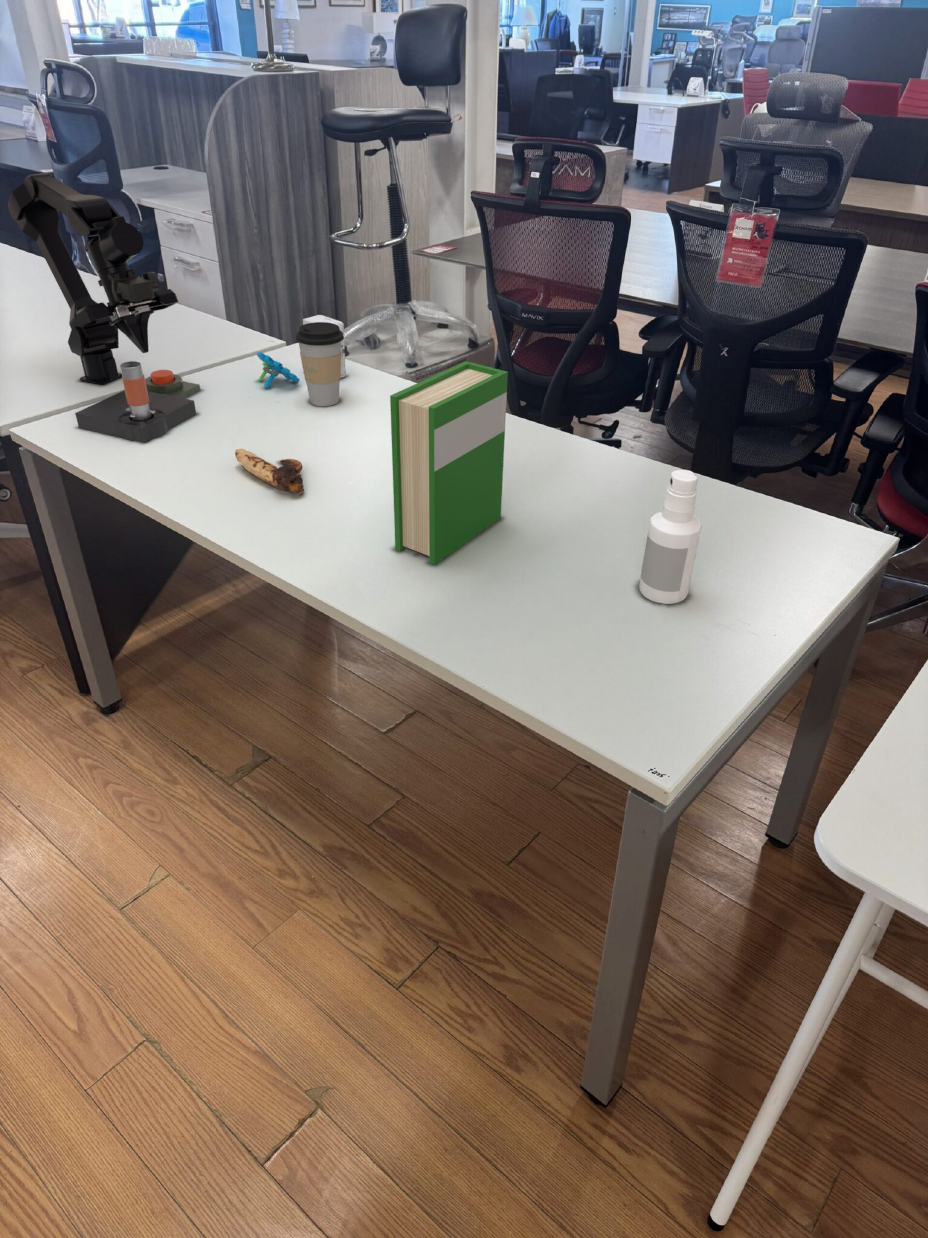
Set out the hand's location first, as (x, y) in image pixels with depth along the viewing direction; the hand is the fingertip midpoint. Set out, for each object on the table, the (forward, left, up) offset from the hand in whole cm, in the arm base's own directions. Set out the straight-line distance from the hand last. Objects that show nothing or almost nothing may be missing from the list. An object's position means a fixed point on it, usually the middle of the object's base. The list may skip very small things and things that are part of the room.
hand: (145, 352), depth 165 cm
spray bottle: (+109, -24, -11) cm, 112 cm away
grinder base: (+2, -8, -11) cm, 14 cm away
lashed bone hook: (+40, -17, -11) cm, 45 cm away
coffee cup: (+29, +17, -11) cm, 36 cm away
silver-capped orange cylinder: (+7, -11, -11) cm, 17 cm away
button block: (-3, +6, -11) cm, 13 cm away
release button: (-3, +6, -8) cm, 11 cm away
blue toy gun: (+15, +21, -11) cm, 28 cm away
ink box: (+21, +31, -11) cm, 39 cm away
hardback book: (+75, -22, -11) cm, 79 cm away
